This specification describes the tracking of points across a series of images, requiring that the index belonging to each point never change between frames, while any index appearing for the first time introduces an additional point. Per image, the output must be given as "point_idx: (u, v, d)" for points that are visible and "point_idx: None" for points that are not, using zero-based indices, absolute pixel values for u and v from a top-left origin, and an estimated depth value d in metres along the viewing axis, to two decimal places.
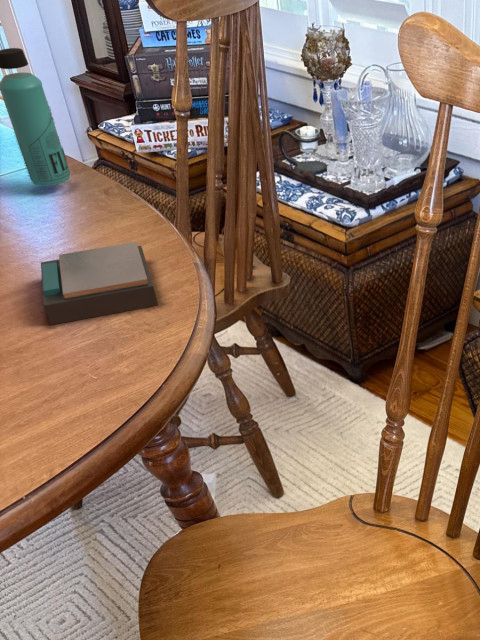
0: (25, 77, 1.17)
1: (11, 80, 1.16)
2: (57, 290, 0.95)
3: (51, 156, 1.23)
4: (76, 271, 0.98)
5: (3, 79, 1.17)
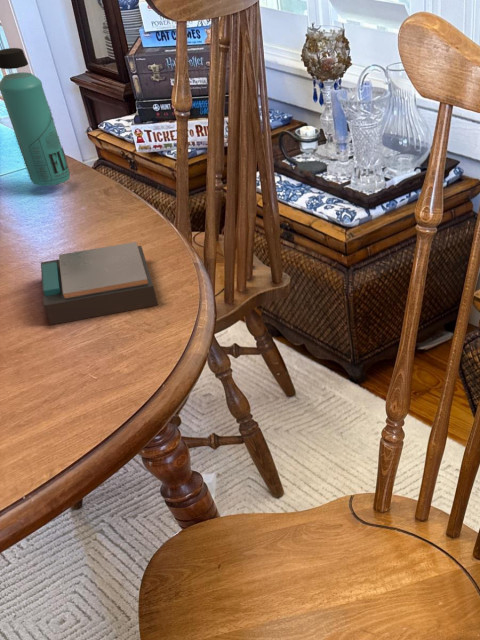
0: (25, 77, 1.17)
1: (11, 80, 1.16)
2: (57, 290, 0.95)
3: (51, 156, 1.23)
4: (76, 271, 0.98)
5: (3, 79, 1.17)
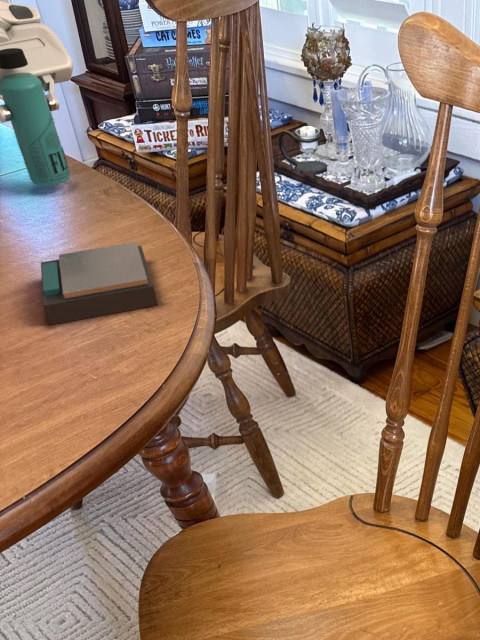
0: (25, 77, 1.17)
1: (11, 80, 1.16)
2: (57, 290, 0.95)
3: (51, 156, 1.23)
4: (76, 271, 0.98)
5: (3, 79, 1.17)
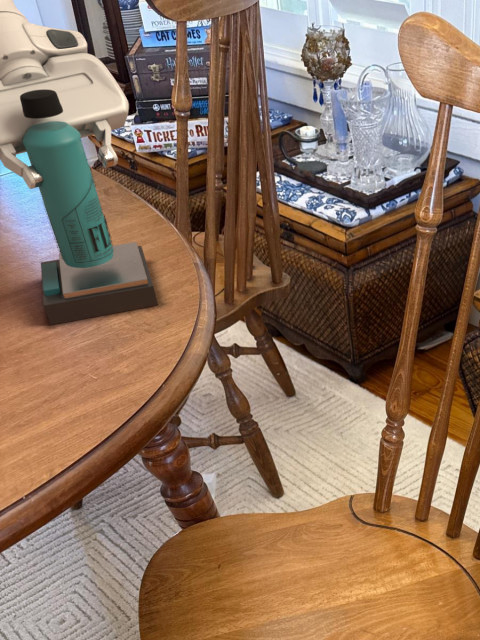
0: (59, 129, 0.86)
1: (40, 133, 0.86)
2: (57, 290, 0.95)
3: (91, 231, 0.93)
4: (76, 271, 0.98)
5: (29, 131, 0.86)
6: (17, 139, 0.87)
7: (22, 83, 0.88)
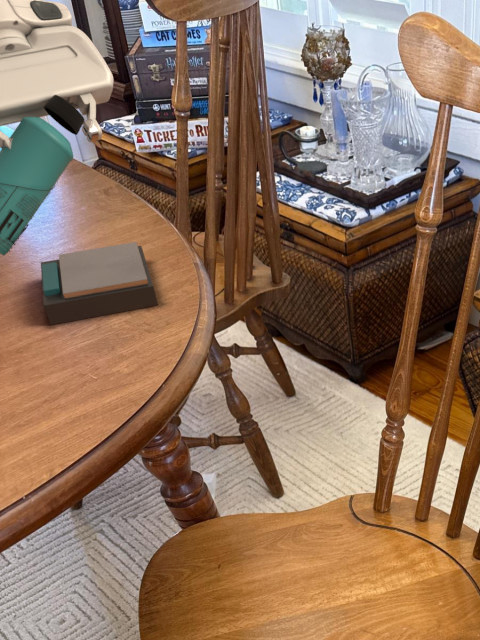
0: (63, 136, 0.89)
1: (46, 122, 0.87)
2: (57, 290, 0.95)
3: (11, 214, 0.87)
4: (76, 271, 0.98)
5: (36, 117, 0.88)
6: None
7: (5, 54, 0.87)
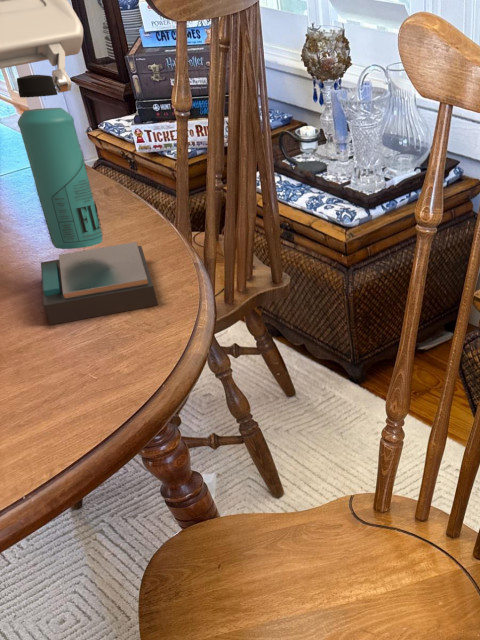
0: (52, 109, 0.90)
1: (34, 112, 0.89)
2: (57, 290, 0.95)
3: (80, 210, 0.95)
4: (76, 271, 0.98)
5: (24, 112, 0.90)
6: None
7: None
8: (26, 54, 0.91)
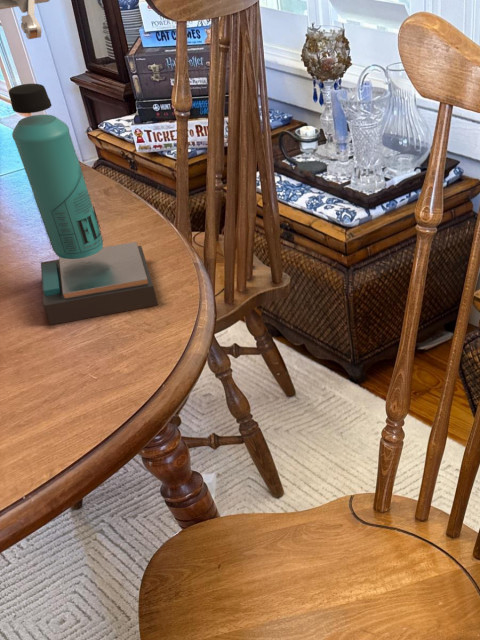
0: (48, 123, 0.88)
1: (29, 127, 0.87)
2: (57, 290, 0.95)
3: (80, 223, 0.95)
4: (76, 271, 0.98)
5: (18, 125, 0.88)
6: None
7: None
8: None
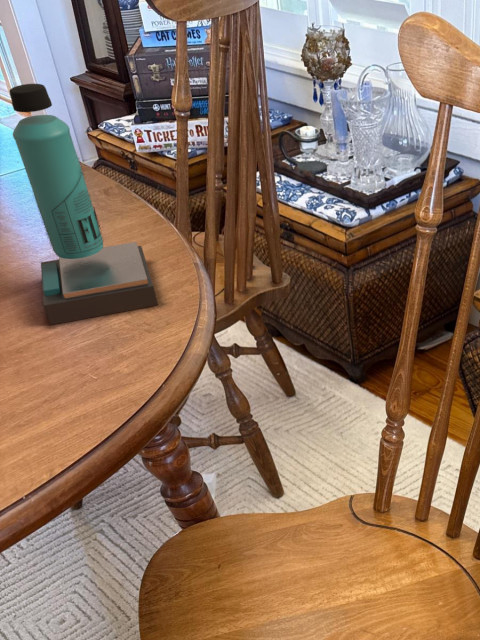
0: (48, 122, 0.88)
1: (29, 126, 0.88)
2: (57, 290, 0.95)
3: (80, 222, 0.95)
4: (76, 271, 0.98)
5: (19, 125, 0.88)
6: None
7: None
8: None
